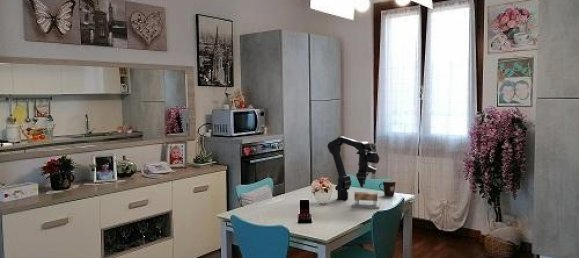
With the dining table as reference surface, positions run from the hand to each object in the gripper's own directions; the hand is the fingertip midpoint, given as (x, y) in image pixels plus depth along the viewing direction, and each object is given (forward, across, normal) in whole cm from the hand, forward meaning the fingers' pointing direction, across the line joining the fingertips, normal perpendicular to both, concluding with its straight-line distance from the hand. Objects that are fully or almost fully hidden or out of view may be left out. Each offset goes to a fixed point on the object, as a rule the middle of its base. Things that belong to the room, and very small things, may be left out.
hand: (362, 185), depth 287 cm
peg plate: (+11, -6, -3) cm, 13 cm away
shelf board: (+7, -6, -3) cm, 10 cm away
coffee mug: (+12, +27, -13) cm, 32 cm away
